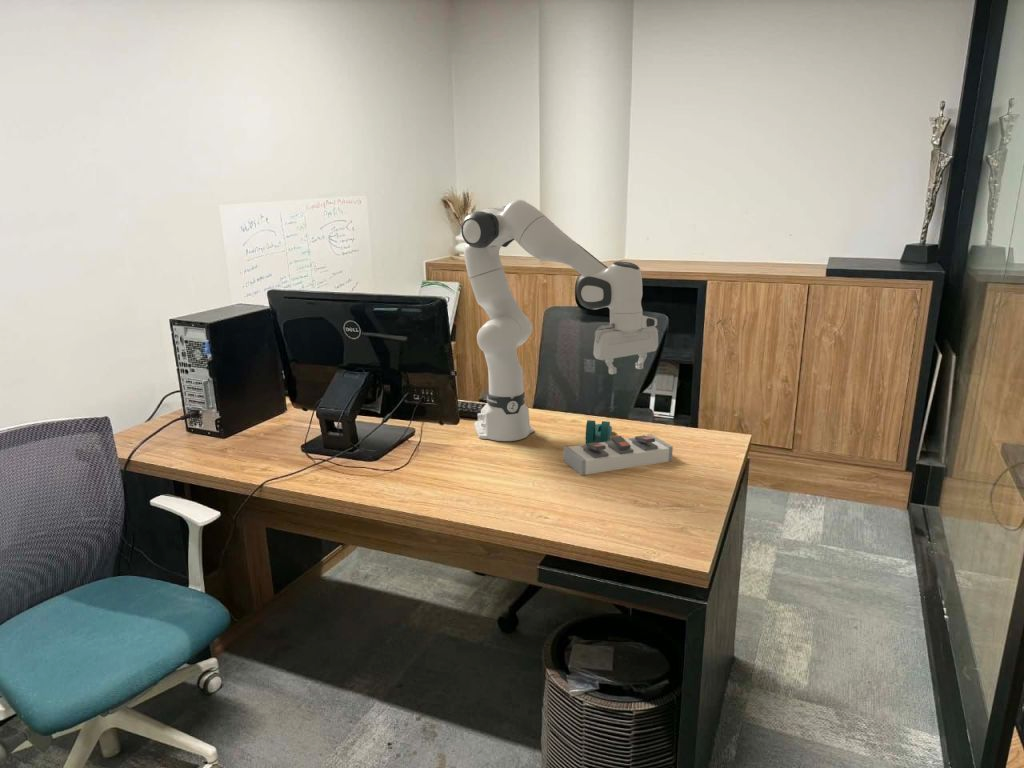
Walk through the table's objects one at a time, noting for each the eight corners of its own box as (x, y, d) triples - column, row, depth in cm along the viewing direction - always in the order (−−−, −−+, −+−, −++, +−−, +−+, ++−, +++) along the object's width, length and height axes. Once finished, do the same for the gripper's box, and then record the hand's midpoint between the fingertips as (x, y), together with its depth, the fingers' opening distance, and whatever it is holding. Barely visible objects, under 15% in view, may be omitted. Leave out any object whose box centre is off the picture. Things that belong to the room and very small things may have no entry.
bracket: (607, 450, 213) (608, 425, 211) (585, 448, 215) (585, 424, 213) (612, 431, 230) (613, 408, 228) (592, 429, 232) (592, 407, 230)
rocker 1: (586, 446, 201) (586, 443, 200) (595, 445, 202) (595, 441, 201) (596, 450, 195) (595, 446, 195) (605, 449, 196) (605, 445, 196)
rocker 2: (611, 440, 203) (611, 436, 203) (620, 438, 204) (620, 435, 204) (621, 449, 198) (621, 446, 198) (630, 448, 199) (630, 445, 199)
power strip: (563, 460, 204) (563, 445, 203) (650, 447, 214) (650, 432, 213) (581, 475, 193) (581, 459, 192) (672, 460, 203) (672, 445, 202)
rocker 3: (635, 439, 206) (635, 436, 206) (644, 438, 207) (644, 435, 207) (645, 443, 200) (645, 439, 200) (655, 441, 201) (654, 438, 201)
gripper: (602, 327, 183) (602, 379, 187) (662, 319, 193) (661, 367, 196) (588, 325, 189) (589, 374, 192) (646, 316, 198) (646, 364, 202)
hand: (626, 371), depth 194 cm, fingers open, 8 cm apart
